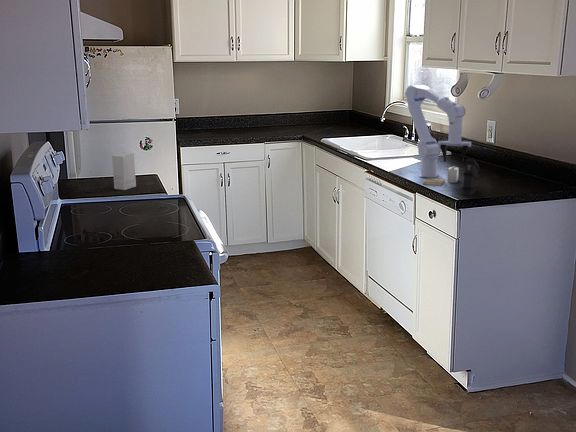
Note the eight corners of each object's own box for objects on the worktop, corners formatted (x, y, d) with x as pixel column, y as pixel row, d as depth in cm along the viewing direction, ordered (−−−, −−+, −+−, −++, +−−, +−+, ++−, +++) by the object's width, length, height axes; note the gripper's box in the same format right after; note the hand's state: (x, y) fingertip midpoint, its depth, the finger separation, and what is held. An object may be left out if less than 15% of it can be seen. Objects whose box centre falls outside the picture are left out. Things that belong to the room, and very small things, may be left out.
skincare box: (126, 185, 304) (123, 152, 300) (137, 186, 301) (134, 153, 297) (113, 189, 297) (110, 154, 293) (124, 190, 294) (122, 155, 290)
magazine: (460, 193, 272) (465, 158, 274) (466, 200, 283) (472, 167, 286) (469, 193, 270) (474, 158, 272) (475, 201, 282) (481, 167, 284)
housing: (449, 179, 308) (449, 165, 306) (458, 180, 306) (458, 166, 305) (447, 182, 302) (448, 168, 301) (456, 182, 301) (457, 168, 299)
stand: (426, 181, 305) (426, 177, 304) (443, 182, 302) (443, 179, 301) (423, 184, 297) (423, 181, 297) (440, 185, 295) (441, 182, 294)
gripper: (437, 132, 297) (436, 162, 301) (470, 133, 292) (469, 163, 296) (440, 130, 304) (438, 159, 307) (472, 131, 299) (470, 161, 302)
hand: (453, 161), depth 302 cm, fingers open, 7 cm apart
